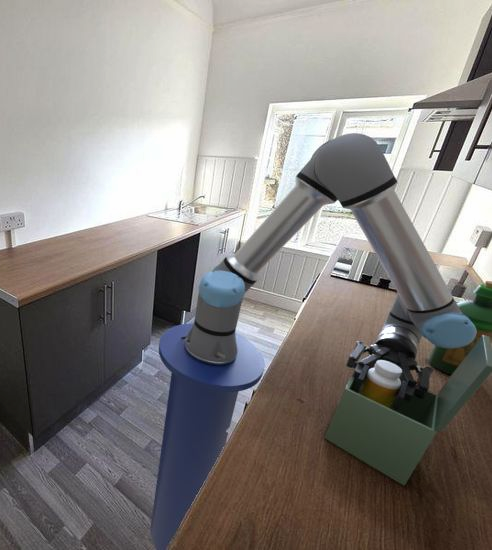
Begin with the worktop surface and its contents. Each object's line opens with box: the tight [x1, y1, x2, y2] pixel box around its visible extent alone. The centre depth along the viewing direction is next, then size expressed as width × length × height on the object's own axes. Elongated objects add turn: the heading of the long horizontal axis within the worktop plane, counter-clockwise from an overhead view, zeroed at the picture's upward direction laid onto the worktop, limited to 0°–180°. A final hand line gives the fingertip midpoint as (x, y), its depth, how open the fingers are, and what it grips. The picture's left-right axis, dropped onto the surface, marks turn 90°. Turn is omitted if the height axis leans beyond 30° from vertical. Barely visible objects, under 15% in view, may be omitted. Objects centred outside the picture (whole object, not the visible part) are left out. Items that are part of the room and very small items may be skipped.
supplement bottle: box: [358, 360, 402, 408], centre depth 60 cm, size 5×5×10 cm
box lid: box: [435, 335, 492, 433], centre depth 51 cm, size 14×13×1 cm
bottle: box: [428, 280, 492, 376], centre depth 84 cm, size 11×11×28 cm
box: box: [324, 374, 438, 487], centre depth 61 cm, size 13×13×14 cm
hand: (377, 393), depth 56 cm, fingers closed on supplement bottle, 5 cm apart
